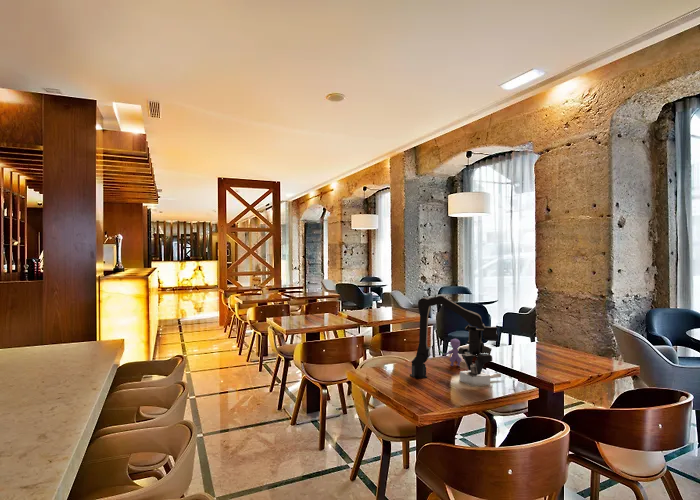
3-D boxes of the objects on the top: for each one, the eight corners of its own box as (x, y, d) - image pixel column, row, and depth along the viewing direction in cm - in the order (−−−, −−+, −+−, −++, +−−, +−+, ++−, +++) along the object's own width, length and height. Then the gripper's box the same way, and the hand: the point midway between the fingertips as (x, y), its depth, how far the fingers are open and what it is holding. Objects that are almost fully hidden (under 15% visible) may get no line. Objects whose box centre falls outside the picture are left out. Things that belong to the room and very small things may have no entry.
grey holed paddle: (472, 386, 185) (472, 377, 185) (459, 380, 194) (459, 371, 195) (507, 382, 192) (507, 373, 192) (493, 377, 201) (493, 368, 201)
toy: (470, 365, 224) (471, 338, 224) (472, 367, 218) (473, 340, 218) (437, 363, 225) (437, 337, 226) (438, 366, 220) (438, 339, 220)
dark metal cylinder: (473, 382, 189) (473, 365, 190) (469, 381, 192) (468, 364, 193) (479, 381, 190) (478, 364, 191) (475, 380, 194) (474, 363, 194)
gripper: (501, 342, 186) (501, 376, 186) (476, 335, 203) (476, 366, 203) (482, 344, 182) (482, 378, 182) (457, 336, 200) (457, 367, 199)
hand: (474, 372), depth 192 cm, fingers open, 6 cm apart
